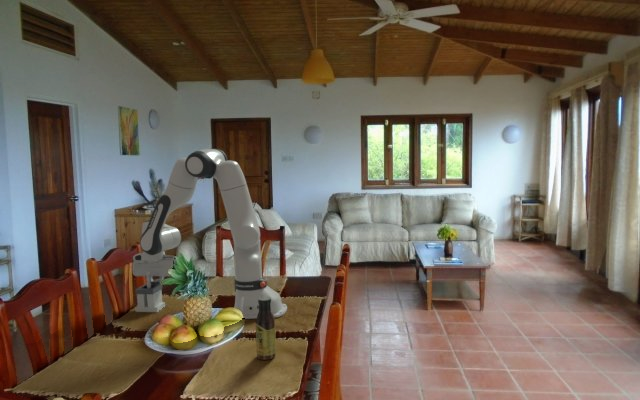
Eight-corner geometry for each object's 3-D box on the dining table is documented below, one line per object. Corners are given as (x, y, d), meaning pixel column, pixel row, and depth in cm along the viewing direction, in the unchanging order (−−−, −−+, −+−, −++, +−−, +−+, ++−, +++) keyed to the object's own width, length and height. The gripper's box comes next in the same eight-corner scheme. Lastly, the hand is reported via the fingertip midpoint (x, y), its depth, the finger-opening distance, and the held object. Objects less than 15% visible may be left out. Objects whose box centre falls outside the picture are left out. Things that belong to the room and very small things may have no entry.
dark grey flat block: (167, 285, 204) (167, 278, 204) (153, 294, 192) (152, 287, 191) (151, 284, 206) (150, 278, 205) (135, 294, 193) (135, 287, 193)
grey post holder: (165, 306, 200) (162, 268, 198) (157, 312, 193) (154, 273, 191) (144, 306, 201) (141, 268, 199) (135, 311, 194) (132, 272, 192)
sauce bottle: (255, 354, 149) (252, 296, 147) (273, 351, 152) (270, 293, 149) (259, 362, 143) (256, 302, 141) (278, 359, 146) (276, 299, 143)
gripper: (179, 253, 203) (181, 283, 204) (137, 253, 206) (139, 283, 207) (173, 256, 196) (175, 287, 198) (129, 256, 199) (131, 287, 201)
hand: (156, 285), depth 203 cm, fingers closed on dark grey flat block, 2 cm apart
